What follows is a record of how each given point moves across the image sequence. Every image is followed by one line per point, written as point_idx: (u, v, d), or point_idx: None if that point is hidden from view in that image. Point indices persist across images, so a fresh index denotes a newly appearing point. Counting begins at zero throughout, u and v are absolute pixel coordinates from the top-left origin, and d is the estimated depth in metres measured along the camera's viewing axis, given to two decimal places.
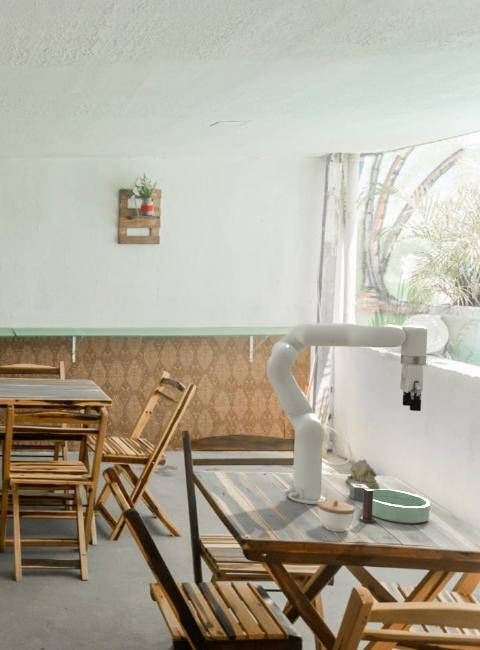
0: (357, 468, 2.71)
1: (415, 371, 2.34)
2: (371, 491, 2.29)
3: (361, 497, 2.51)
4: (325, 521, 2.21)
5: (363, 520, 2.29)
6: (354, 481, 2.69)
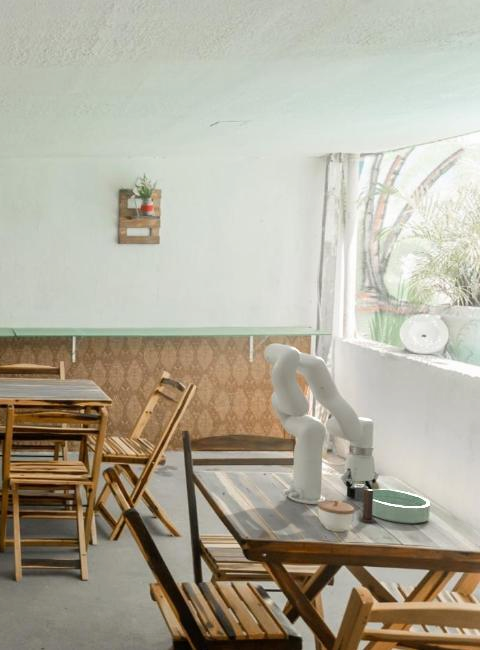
0: None
1: (349, 459, 2.52)
2: (371, 491, 2.29)
3: (361, 497, 2.51)
4: (325, 521, 2.21)
5: (363, 520, 2.29)
6: None
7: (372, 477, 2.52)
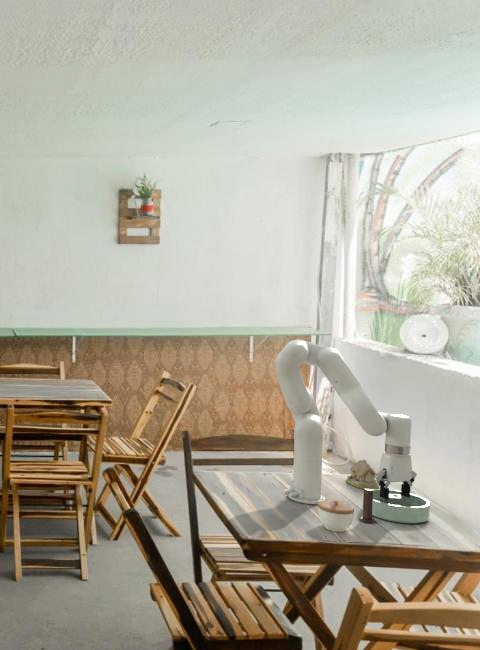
0: (357, 468, 2.71)
1: (385, 459, 2.38)
2: (371, 491, 2.29)
3: None
4: (325, 521, 2.21)
5: (363, 520, 2.29)
6: (354, 481, 2.69)
7: (409, 477, 2.38)
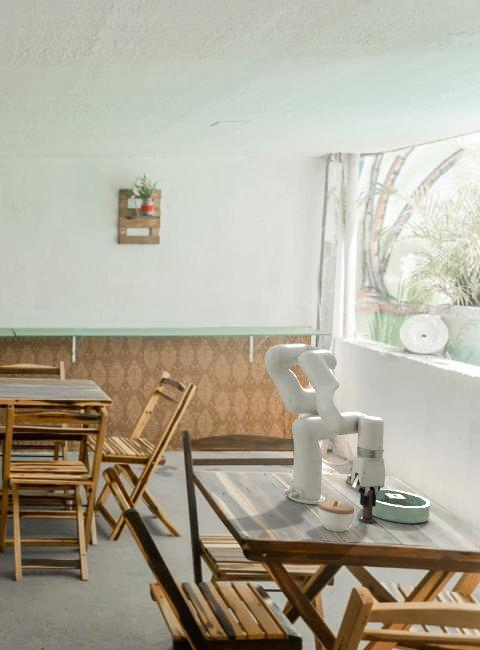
0: None
1: (357, 462, 2.29)
2: (371, 491, 2.29)
3: None
4: (325, 521, 2.21)
5: (363, 520, 2.29)
6: None
7: (382, 482, 2.29)
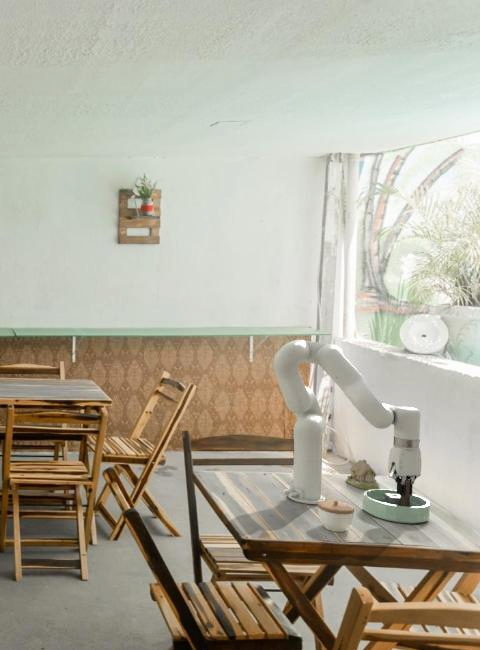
0: (357, 468, 2.71)
1: (393, 452, 2.33)
2: (408, 480, 2.34)
3: None
4: (325, 521, 2.21)
5: None
6: (354, 481, 2.69)
7: (419, 471, 2.33)
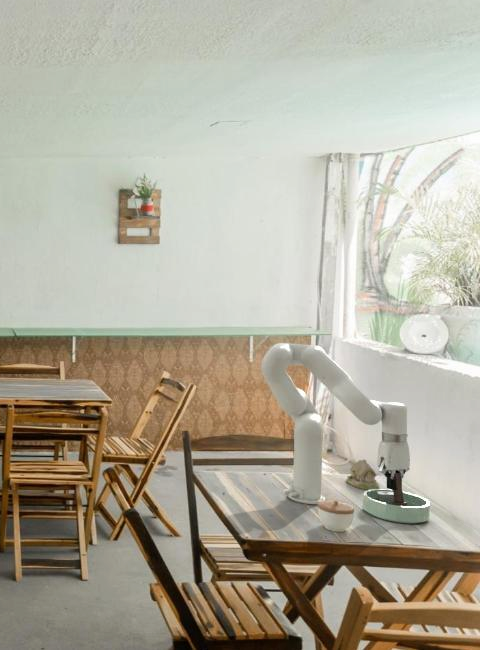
0: (357, 468, 2.71)
1: (382, 447, 2.37)
2: (398, 474, 2.37)
3: None
4: (325, 521, 2.21)
5: (396, 504, 2.36)
6: (354, 481, 2.69)
7: (407, 465, 2.37)
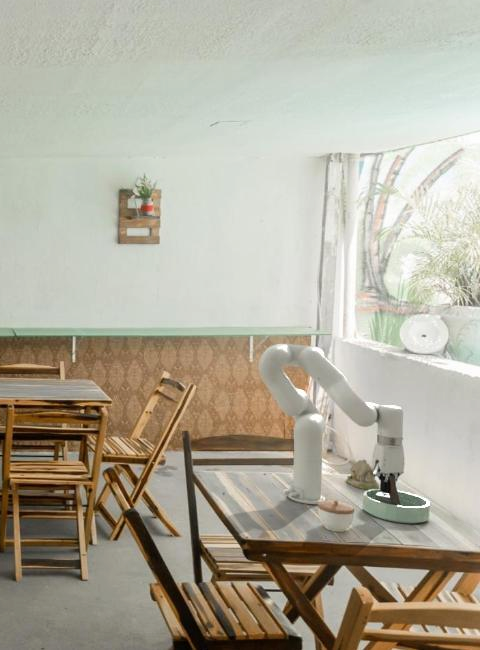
0: (357, 468, 2.71)
1: (377, 450, 2.36)
2: (392, 476, 2.36)
3: None
4: (325, 521, 2.21)
5: None
6: (354, 481, 2.69)
7: (402, 469, 2.36)
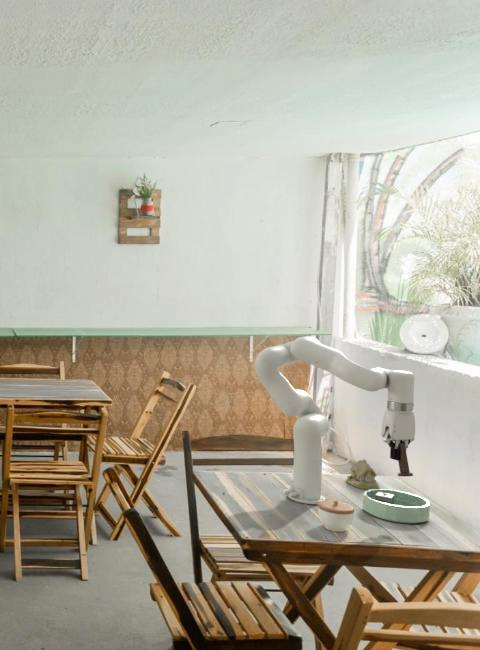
0: (357, 468, 2.71)
1: (387, 416, 2.30)
2: (403, 444, 2.30)
3: None
4: (325, 521, 2.21)
5: (401, 474, 2.28)
6: (354, 481, 2.69)
7: (412, 435, 2.31)
